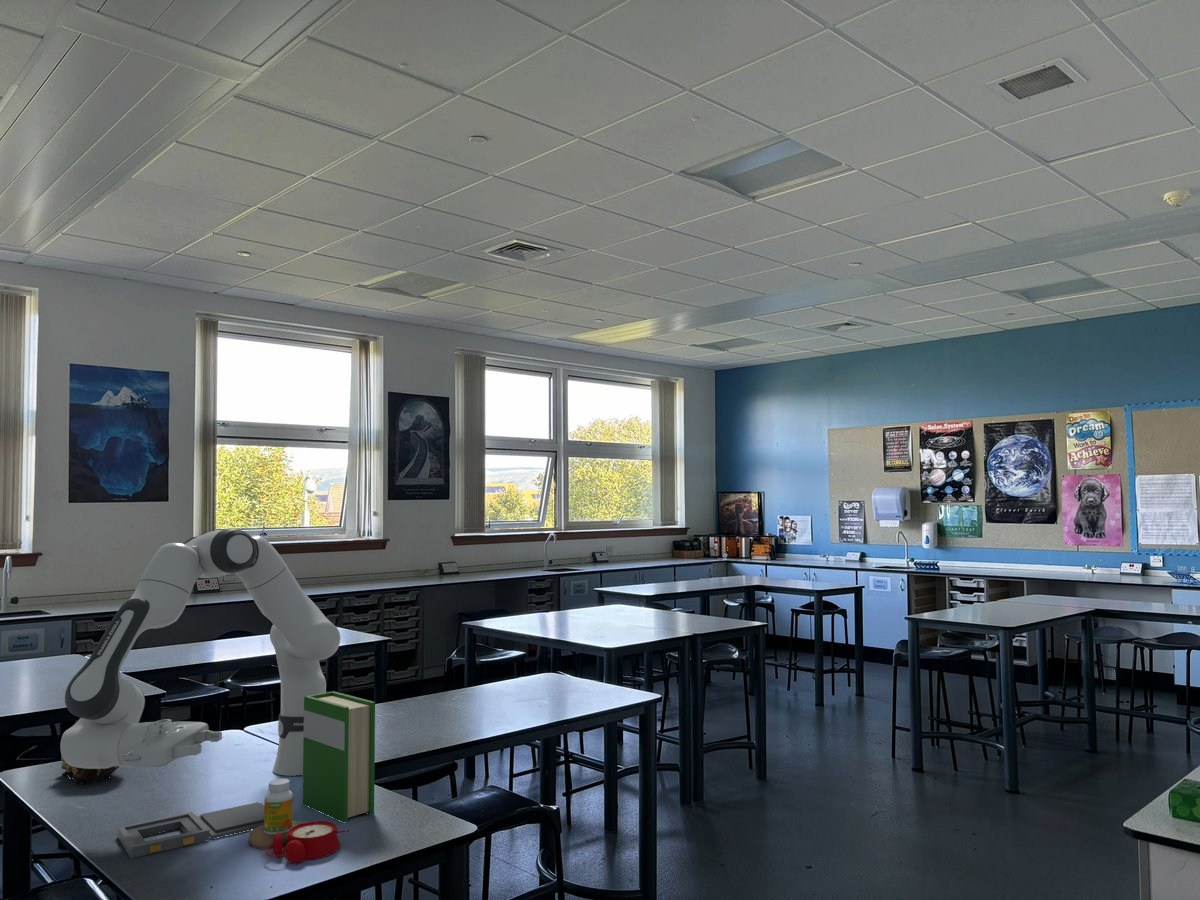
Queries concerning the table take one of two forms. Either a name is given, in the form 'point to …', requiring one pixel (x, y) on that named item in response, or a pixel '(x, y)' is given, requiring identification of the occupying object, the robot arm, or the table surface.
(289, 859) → the alarm clock
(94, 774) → the fossil
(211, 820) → the equipment case
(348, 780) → the hardback book
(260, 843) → the round brown pad
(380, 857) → the table surface
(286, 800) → the supplement bottle
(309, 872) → the table surface
